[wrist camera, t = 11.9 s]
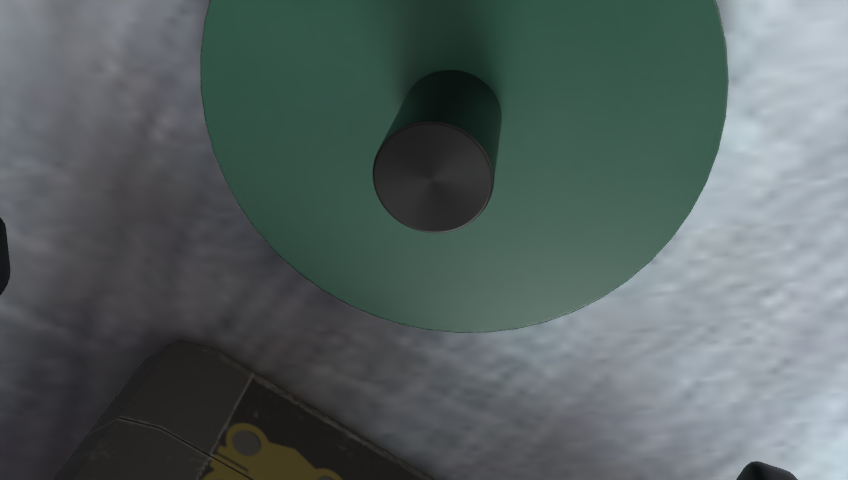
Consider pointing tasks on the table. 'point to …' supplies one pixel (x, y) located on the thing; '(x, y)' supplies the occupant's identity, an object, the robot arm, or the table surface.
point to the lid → (465, 145)
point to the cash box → (220, 429)
